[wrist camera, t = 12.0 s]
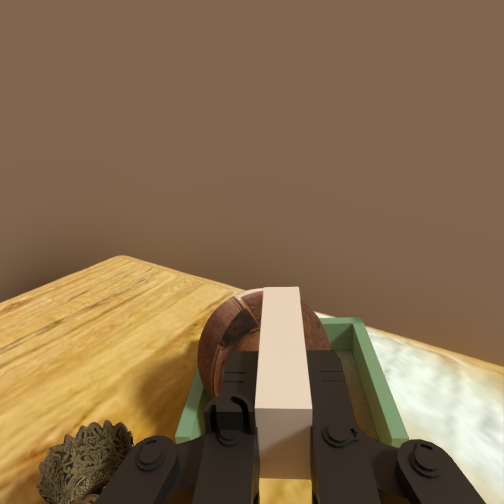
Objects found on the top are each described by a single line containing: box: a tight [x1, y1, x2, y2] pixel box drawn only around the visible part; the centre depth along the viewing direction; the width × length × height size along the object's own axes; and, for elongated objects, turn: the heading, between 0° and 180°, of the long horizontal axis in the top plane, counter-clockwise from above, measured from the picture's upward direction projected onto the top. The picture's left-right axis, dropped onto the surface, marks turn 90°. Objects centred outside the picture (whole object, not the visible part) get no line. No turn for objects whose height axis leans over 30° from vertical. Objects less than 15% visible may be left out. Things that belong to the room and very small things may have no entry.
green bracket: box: [175, 317, 409, 448], centre depth 44 cm, size 20×22×4 cm
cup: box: [37, 420, 134, 504], centre depth 31 cm, size 8×7×8 cm
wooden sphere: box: [198, 289, 331, 400], centre depth 40 cm, size 15×15×15 cm
